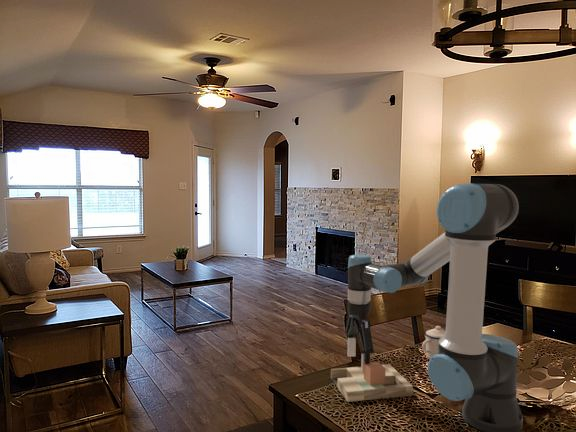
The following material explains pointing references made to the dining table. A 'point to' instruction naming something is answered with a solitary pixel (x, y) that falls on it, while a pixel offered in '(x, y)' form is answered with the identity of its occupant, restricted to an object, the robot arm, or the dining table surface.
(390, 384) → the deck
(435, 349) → the teacup with lid
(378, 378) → the block
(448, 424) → the dining table surface
